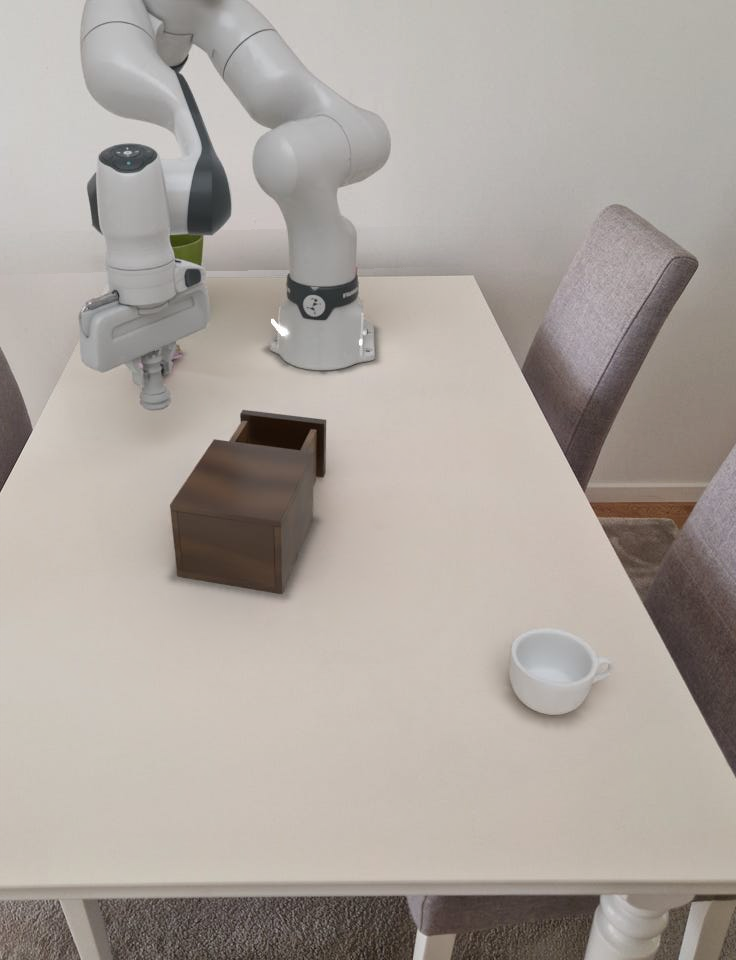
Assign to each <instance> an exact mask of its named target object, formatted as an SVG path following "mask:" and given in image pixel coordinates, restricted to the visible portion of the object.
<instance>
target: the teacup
mask: <svg viewBox="0 0 736 960" xmlns="http://www.w3.org/2000/svg"><path fill="white" fill-rule="evenodd" d="M602 665H608V667H607V669H605V670H604V671H603V672H601V673H598V674H597V671H598V669H599V668H600V667H601V666H602ZM508 669H509V680H510V684H511V687H512V690H513V692H514V694H515V695H516V697H517V698H518V699H519V700H520V702H522V703H523V704H524V705H525V706H526V707H527V708H529V709H531V710H533V711H535V712H537V713H540V714H544V715H549V716H559V715H565V714H568V713H570V712H573V711H574V710H576V709H577V708H579V707H580V706H581V705H582V703H583V702H584V700H585V699H586V697H587V696H588V694H589V692H590V690H591V688H592V686H593V684H596V683H598V682H600V681H603V680H604V679H607V678H608V677H610V676H611V675H612V674H613V672H614V670H615V665H614V663H613V661H612V660H611V659H610V658H608V657H604V656H603V657H602V656H601V657H600V656H599V657H598V656H597V654H596V652H595V650H594V648H593V647H592V646H591V645H590V644H589V643H588V642H587V641H585V640H584V639H582V638H581V637H580V636H578V635H576V634H574V633H572V632H569V631H566V630H563V629H559V628H553V627H538V628H532V629H528V630H526V631H524V632H522V633H520V634H519V635H518V636H517V637H516V638H515V639H514V641H513V643H512V644H511V650H510V656H509V668H508Z"/></svg>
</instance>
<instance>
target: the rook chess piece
mask: <svg viewBox="0 0 736 960" xmlns="http://www.w3.org/2000/svg"><path fill="white" fill-rule="evenodd" d="M162 359H163V357H162V356H161V355H160V353H159V350H158V349H157V350H154V351H152V352H150V353H147V354H145V355H143V356H141V363H142V364H143V367H142V369H143V370H147V371H148V372H149V377H148V378H149V382H148V383H146V384H143V385H142V387H141V391H140V392H139V399H140V400H139V404H140V406H141V407H142V408H143V409H145V410H147V411H152V412H153V411H155V412H156V411H161V410H165V409H166V408H167V407H168V406H170V404H171V403H172V398H171V392H170V390H169V389H168V388H167V385H166V384H165V383H164V378H163V375H161V370H162V366H161V365H160V362H161V360H162Z"/></svg>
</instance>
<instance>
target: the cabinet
mask: <svg viewBox="0 0 736 960" xmlns="http://www.w3.org/2000/svg"><path fill="white" fill-rule="evenodd" d="M169 509H170V519H171V520H170V521H171V529H172V539H173V548H174V558H175V567H176V568H175V569H176V576H177V577H180V578H187V579H192V580H197V581H198V580H199V581H204V582H210V583H215V584H220V585H225V586H233V587H239V588H245V589H250V590H256V591H263V592H268V593H274V594H279V595H280V594H281V595H282V594H283V593H284V590H285V588H286V585H287V583H288V581H289V579H290V577H291V574H292V571H293V569H294V566H295V565H296V562H297V560H298V557H299V555H300V553H301V549H302V547H303V545H304V543H305V541H306V537H307V535H308V533H309V531H310V528H311V527H312V523H313V521H314V487H313V452H308V451H301V450H293V449H285V448H278V447H270V446H262V445H254V444H247V443H239V442H231V441H229V440H223V439H222V440H221V439H216V438H214V439H213V440H212V442H211V443H210V445H209V446H208V447H207V449H206V451H204V454H203V455H202V456H201V458H200V459H199V460H198V462H197V464H196V465H195V466H194V468H193V470H192V471H191V472H190V474H189V476H188V477H187V479H185V481H184V483H183V485H182V486H181V487H180V489H179V491H178V492H177V493H176V495H175V496H174V498H173V499H172V501H171V502H170V504H169Z"/></svg>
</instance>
